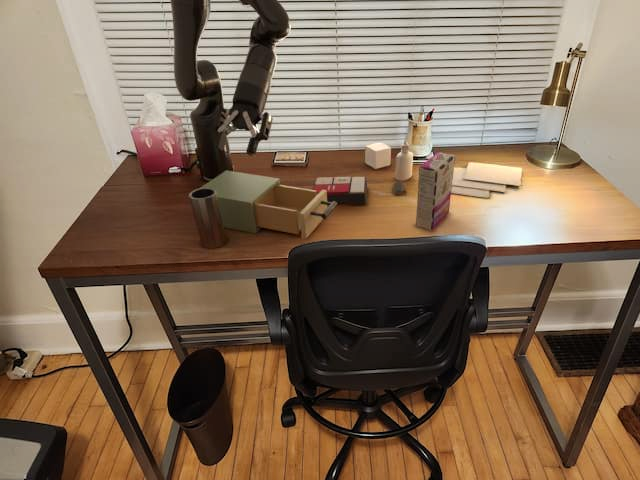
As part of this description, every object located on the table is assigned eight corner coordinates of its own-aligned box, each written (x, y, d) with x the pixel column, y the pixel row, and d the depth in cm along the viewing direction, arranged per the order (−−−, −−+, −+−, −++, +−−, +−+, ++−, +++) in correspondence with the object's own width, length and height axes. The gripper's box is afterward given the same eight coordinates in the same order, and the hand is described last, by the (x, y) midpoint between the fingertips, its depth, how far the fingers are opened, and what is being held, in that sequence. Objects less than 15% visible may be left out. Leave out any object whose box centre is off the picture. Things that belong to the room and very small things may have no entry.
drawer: (342, 216, 115) (341, 192, 111) (322, 241, 105) (320, 216, 101) (276, 204, 120) (273, 181, 116) (250, 228, 110) (246, 203, 106)
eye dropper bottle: (392, 176, 137) (394, 138, 130) (410, 174, 138) (412, 136, 131) (396, 181, 134) (398, 143, 127) (414, 180, 135) (416, 141, 128)
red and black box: (315, 176, 129) (366, 174, 127) (317, 189, 131) (367, 187, 130) (310, 192, 120) (365, 191, 119) (312, 206, 122) (365, 205, 121)
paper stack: (518, 202, 122) (519, 199, 122) (430, 190, 129) (430, 188, 128) (521, 170, 140) (521, 168, 140) (443, 160, 146) (443, 158, 146)
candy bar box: (432, 208, 119) (438, 150, 110) (449, 213, 117) (456, 154, 108) (413, 226, 112) (418, 165, 102) (431, 231, 110) (438, 170, 100)
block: (403, 186, 131) (404, 180, 130) (405, 195, 126) (406, 189, 125) (392, 186, 131) (392, 180, 130) (393, 195, 126) (393, 189, 125)
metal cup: (196, 245, 105) (183, 196, 97) (211, 234, 109) (199, 186, 102) (217, 250, 103) (205, 200, 96) (230, 238, 108) (220, 189, 100)
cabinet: (283, 207, 121) (279, 178, 116) (256, 233, 110) (250, 202, 104) (231, 198, 125) (226, 170, 120) (200, 222, 114) (192, 192, 109)
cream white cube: (390, 165, 144) (391, 147, 141) (375, 169, 142) (375, 151, 138) (379, 159, 148) (380, 141, 145) (365, 163, 146) (365, 145, 142)
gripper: (219, 77, 104) (200, 141, 103) (271, 83, 100) (252, 149, 99) (236, 94, 111) (218, 154, 110) (285, 100, 107) (267, 162, 106)
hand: (234, 152), depth 104 cm, fingers open, 8 cm apart
